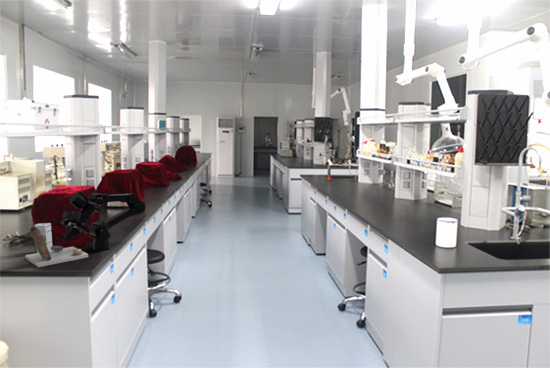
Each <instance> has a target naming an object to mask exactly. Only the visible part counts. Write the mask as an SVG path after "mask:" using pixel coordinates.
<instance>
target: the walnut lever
mask: <svg viewBox="0 0 550 368" xmlns="http://www.w3.org/2000/svg"><path fill="white" fill-rule="evenodd" d="M28 231H29V233H30V235H31V238H32V240H33V242H34V244H35V248H36V247H37V249H38V251H39V253H40V256H41V257H42V258H44V259H47V260H51V255H50V253H49V250H48V248H47V246H46V244H45V241H44V239H43V237H42V234H41V232H40V230H39V229H37V227H35V226H34V225H33V226H32V227H31V228H30V229H29V230H28Z"/></svg>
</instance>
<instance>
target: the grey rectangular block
mask: <svg viewBox="0 0 550 368" xmlns="http://www.w3.org/2000/svg"><path fill="white" fill-rule="evenodd" d="M63 248H64V246H61V245H60V246H59V245H54V246H53V245H52V246H51V250H53V251H59V250H63Z"/></svg>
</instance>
